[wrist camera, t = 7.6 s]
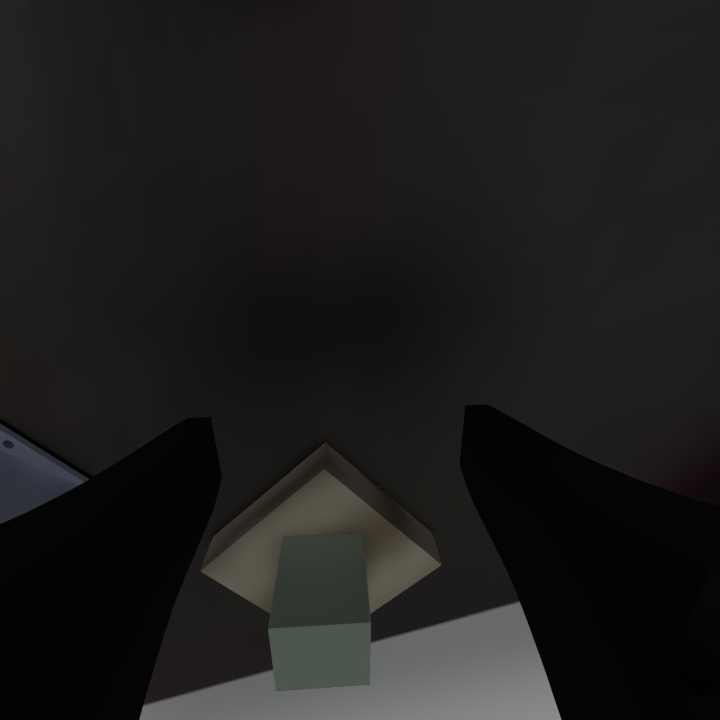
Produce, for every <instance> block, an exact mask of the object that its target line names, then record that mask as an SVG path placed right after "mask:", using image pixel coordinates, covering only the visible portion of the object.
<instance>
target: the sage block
mask: <svg viewBox="0 0 720 720" xmlns="http://www.w3.org/2000/svg"><path fill="white" fill-rule="evenodd" d="M268 632H269V639H270V647H271V655H272V663H273V670H274V677H275V686H276V691H283V690H284V691H285V690H299V689H313V688H326V687H327V688H328V687H341V686H355V685H369V684H370V639H371V618H370V607H369V595H368V584H367V572H366V561H365V550H364V538H363V533H351V534H330V535H308V536H287V537H283V538H282V545H281V551H280V557H279V564H278V570H277V576H276V582H275V589H274V595H273V601H272V607H271V614H270V620H269V626H268Z"/></svg>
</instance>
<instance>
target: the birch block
mask: <svg viewBox="0 0 720 720" xmlns="http://www.w3.org/2000/svg"><path fill="white" fill-rule="evenodd" d="M351 533H363V538H364V550H365V561H366V572H367V584H368V595H369V607H370V614H371V613H372V612H374V611H375V610H377V609H378V608H379V607H381V606H382V605H384V604H385V603H387V602H388V601H390V600H391V599H393V598H394V597H396V596H397V595H398V594H400V593H401V592H403V591H404V590H406V589H407V588H409V587H410V586H412V585H413V584H414V583H416V582H417V581H419V580H420V579H422V578H423V577H425V576H426V575H428V574H429V573H431V572H432V571H433V570H435V569H436V568H438V567H439V566H441V565H442V564H441V561H440V558H439V554H438V551H437V548H436V544H435V541H434V538H433V534H432V532H431V531H429V530H428V529H427V528H426V527H425V526H423V525H422V524H421V523H420V522H419V521H418V520H416V519H415V518H414V517H413V516H412V515H411V514H409V513H408V512H407V511H406V510H405V509H403V508H402V507H401V506H400V505H399V504H398V503H396V502H395V501H394V500H393V499H392V498H390V497H389V496H388V495H387V494H386V493H385V492H383V491H382V490H381V489H380V488H379V487H378V486H376V485H375V484H374V483H373V482H372V481H370V480H369V479H368V478H367V477H366V476H365V475H363V474H362V473H361V472H360V471H359V470H357V469H356V468H355V467H354V466H353V465H352V464H350V463H349V462H348V461H347V460H346V459H345V458H343V457H342V456H341V455H340V454H339V453H337V452H336V451H335V450H334V449H333V448H332V447H330V446H329V445H328V444H327V443H326V442H325V443H324V444H323V445H322V446H320V447H319V448H318V449H317V450H316V451H314V452H313V453H312V454H311V455H310V456H309V457H307V458H306V459H305V460H304V461H303V462H301V463H300V464H299V465H298V466H297V467H295V468H294V469H293V470H292V471H291V472H289V473H288V474H287V475H286V476H285V477H284V478H282V479H281V480H280V481H279V482H278V483H276V484H275V485H274V486H273V487H272V488H270V489H269V490H268V491H267V492H266V493H264V494H263V495H262V496H261V497H260V498H259V499H257V500H256V501H255V502H254V503H253V504H251V505H250V506H249V507H248V508H247V509H245V510H244V511H243V512H242V513H241V514H239V515H238V516H237V517H236V518H235V519H234V520H232V521H231V522H230V523H229V524H228V525H226V526H225V527H224V528H223V529H222V530H220V531H219V532H218V533H217V534H216V535H214V536H213V538H212V541H211V543H210V546H209V549H208V551H207V554H206V557H205V559H204V562H203V565H202V567H201V570H200V571H201V572H203V573H204V574H206V575H208V576H209V577H211V578H212V579H214V580H216V581H217V582H219V583H221V584H222V585H224V586H226V587H227V588H229V589H230V590H232V591H234V592H235V593H237V594H239V595H240V596H242V597H244V598H245V599H247V600H248V601H250V602H252V603H253V604H255V605H257V606H258V607H260V608H262V609H263V610H265V611H267V612H268V613H270V614H271V607H272V601H273V595H274V589H275V582H276V576H277V570H278V564H279V557H280V551H281V545H282V538H283V537H287V536H308V535H330V534H351Z"/></svg>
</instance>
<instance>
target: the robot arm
mask: <svg viewBox="0 0 720 720" xmlns="http://www.w3.org/2000/svg"><path fill="white" fill-rule="evenodd" d="M10 441H11V442H12V443H13V444H12V443H11V442H10ZM460 467H461V470H462V473H463V476H464V479H465V482H466V485H467V488H468V491H469V494H470V496H471V498H472V501H473V503H474V505H475V507H476V509H477V511H478V513H479V515H480V517H481V519H482V521H483V523H484V525H485V527H486V529H487V531H488V533H489V535H490V537H491V539H492V541H493V543H494V545H495V547H496V549H497V551H498V553H499V555H500V557H501V559H502V561H503V563H504V565H505V567H506V569H507V572H508V574H509V576H510V578H511V581H512V583H513V585H514V588H515V590H516V593H517V595H518V598H519V601H520V603H521V606H522V608H523V611H524V614H525V616H526V619H527V622H528V624H529V627H530V630H531V632H532V635H533V638H534V641H535V644H536V646H537V649H538V652H539V655H540V658H541V660H542V663H543V666H544V669H545V672H546V674H547V677H548V680H549V684H550V686H551V690H552V693H553V696H554V699H555V701H556V704H557V707H558V710H559V713H560V716H561V719H562V720H720V507H718V506H714V505H711V504H708V503H704V502H701V501H698V500H695V499H692V498H688V497H685V496H682V495H680V494H677V493H674V492H671V491H668V490H665V489H662V488H659V487H657V486H654V485H651V484H648V483H645V482H643V481H640V480H638V479H635V478H632V477H630V476H627V475H625V474H623V473H620V472H618V471H616V470H613V469H611V468H608V467H606V466H604V465H601V464H599V463H597V462H595V461H592V460H590V459H588V458H586V457H584V456H582V455H580V454H578V453H576V452H574V451H572V450H570V449H568V448H566V447H564V446H562V445H560V444H558V443H556V442H554V441H552V440H551V439H549V438H547V437H545V436H543V435H541V434H540V433H538V432H536V431H534V430H533V429H531V428H529V427H527V426H526V425H524V424H522V423H520V422H519V421H517V420H515V419H513V418H512V417H510V416H508V415H506V414H504V413H503V412H501V411H499V410H497V409H495V408H493V407H491V406H489V405H487V404H485V405H466V406H465V416H464V426H463V436H462V446H461V456H460ZM221 479H222V475H221V470H220V465H219V459H218V454H217V449H216V444H215V438H214V433H213V428H212V423H211V417H202V418H187V419H186V420H184V421H182V422H180V423H178V424H177V425H175V426H173V427H172V428H170V429H169V430H167V431H165V432H164V433H162V434H161V435H159V436H158V437H156V438H155V439H153V440H152V441H150V442H149V443H147V444H146V445H144V446H142V447H141V448H139V449H138V450H136V451H135V452H133V453H132V454H130V455H129V456H127V457H125V458H124V459H122V460H120V461H119V462H117V463H116V464H114V465H112V466H111V467H109V468H107V469H106V470H104V471H102V472H101V473H99V474H97V475H96V476H94V477H92V478H91V479H88V478H87V477H85V476H83V475H82V474H80V473H79V472H77V471H75V470H74V469H72V468H71V467H69V466H67V465H66V464H64V463H63V462H61V461H59V460H58V459H56V458H55V457H53V456H51V455H50V454H48V453H47V452H45V451H43V450H42V449H40V448H39V447H37V446H35V445H34V444H32V443H30V442H29V441H27V440H26V439H24V438H22V437H21V436H19V435H18V434H16V433H14V432H13V431H11V430H10V429H8V428H6V427H5V426H3V425H2V424H0V720H139V718H140V714H141V711H142V707H143V704H144V700H145V697H146V693H147V690H148V687H149V683H150V680H151V676H152V673H153V669H154V666H155V663H156V659H157V656H158V652H159V649H160V646H161V643H162V640H163V637H164V633H165V630H166V627H167V624H168V621H169V618H170V614H171V611H172V608H173V606H174V603H175V600H176V598H177V595H178V593H179V590H180V587H181V585H182V583H183V580H184V578H185V576H186V573H187V571H188V569H189V566H190V564H191V562H192V559H193V557H194V555H195V552H196V550H197V548H198V545H199V543H200V541H201V538H202V536H203V533H204V531H205V529H206V526H207V524H208V521H209V519H210V517H211V514H212V512H213V509H214V505H215V502H216V498H217V495H218V491H219V487H220V483H221Z"/></svg>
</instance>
